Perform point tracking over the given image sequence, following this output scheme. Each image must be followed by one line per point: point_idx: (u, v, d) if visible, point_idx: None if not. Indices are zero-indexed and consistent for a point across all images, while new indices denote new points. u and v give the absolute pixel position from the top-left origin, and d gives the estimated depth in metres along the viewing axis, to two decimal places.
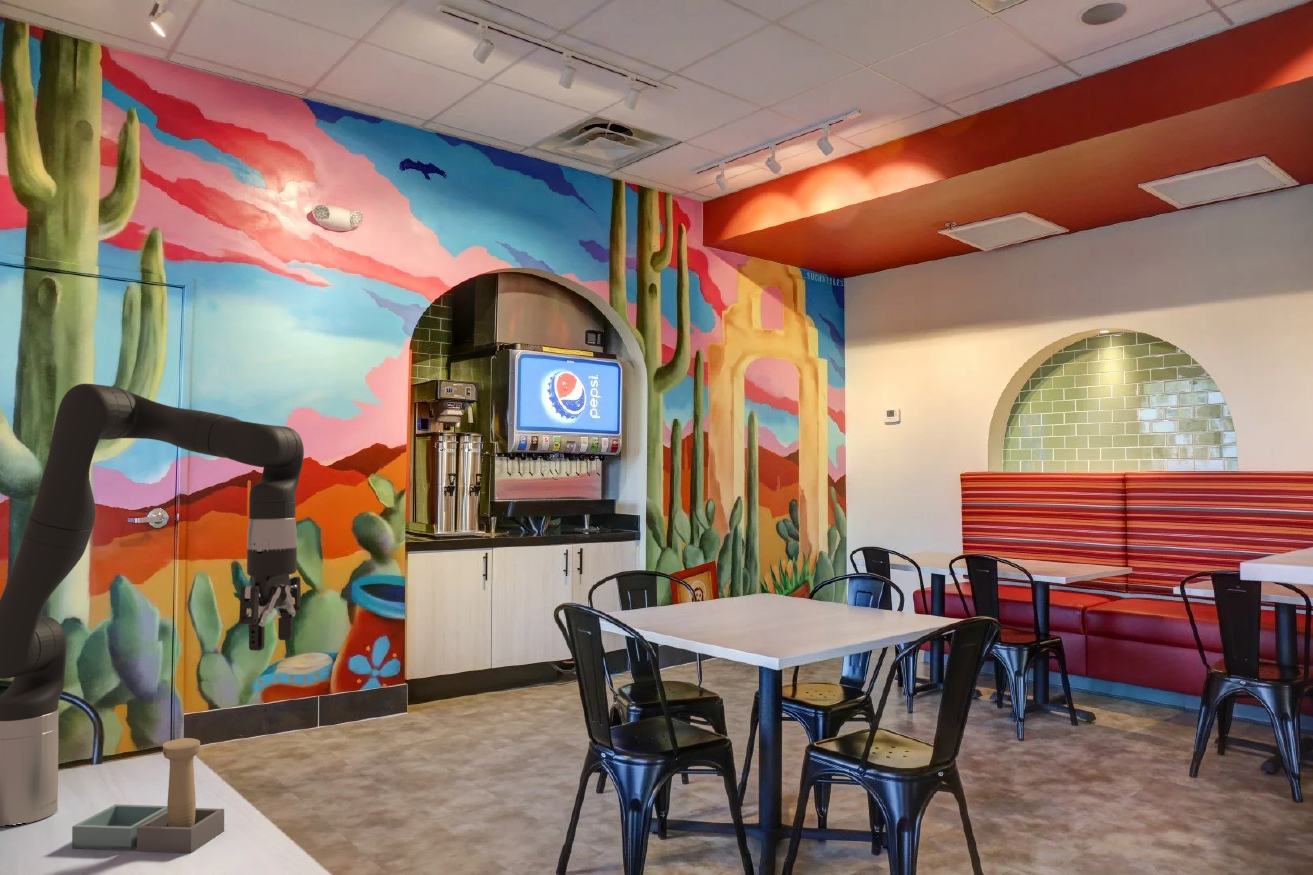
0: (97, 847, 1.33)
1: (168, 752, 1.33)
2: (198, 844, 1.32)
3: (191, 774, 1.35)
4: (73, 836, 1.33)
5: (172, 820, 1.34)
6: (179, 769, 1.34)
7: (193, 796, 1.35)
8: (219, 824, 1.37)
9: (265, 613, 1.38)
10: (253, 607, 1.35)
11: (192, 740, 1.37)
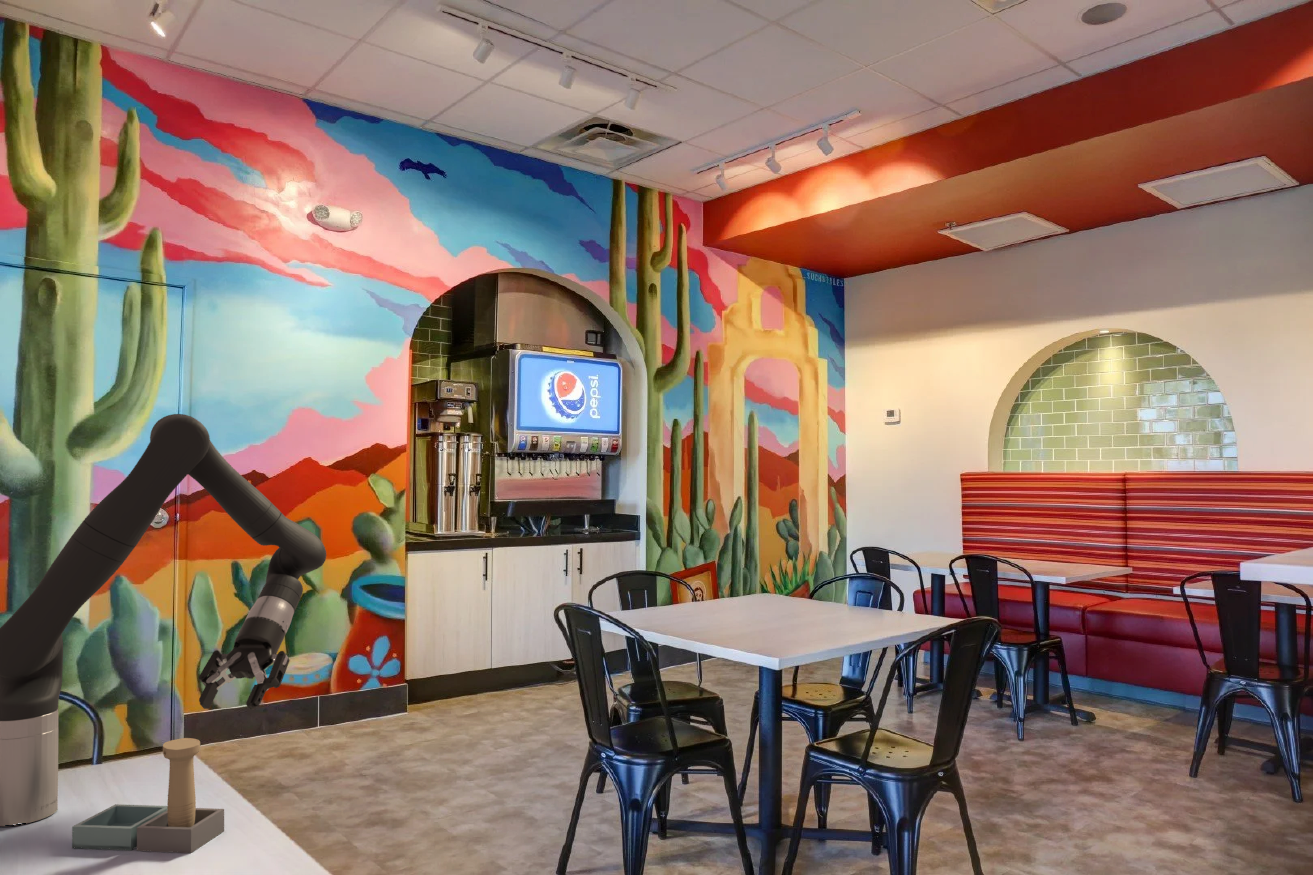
0: (97, 847, 1.33)
1: (168, 752, 1.33)
2: (198, 844, 1.32)
3: (191, 774, 1.35)
4: (73, 836, 1.33)
5: (172, 820, 1.34)
6: (179, 769, 1.34)
7: (193, 796, 1.35)
8: (219, 824, 1.37)
9: None
10: None
11: (192, 740, 1.37)
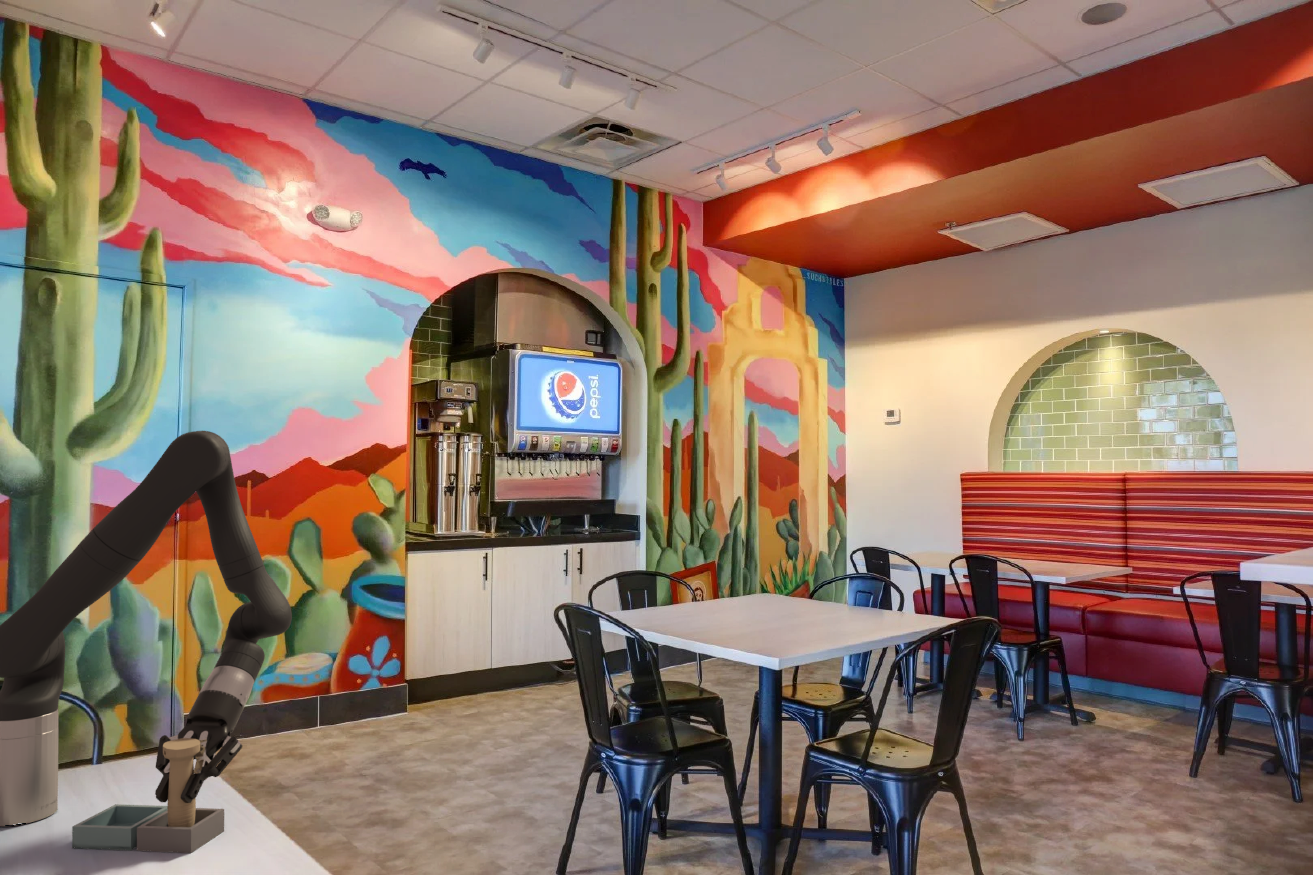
0: (97, 847, 1.33)
1: (168, 752, 1.33)
2: (198, 844, 1.32)
3: (191, 774, 1.35)
4: (73, 836, 1.33)
5: (172, 820, 1.34)
6: (179, 769, 1.34)
7: None
8: (219, 824, 1.37)
9: None
10: (228, 763, 1.38)
11: (192, 740, 1.37)
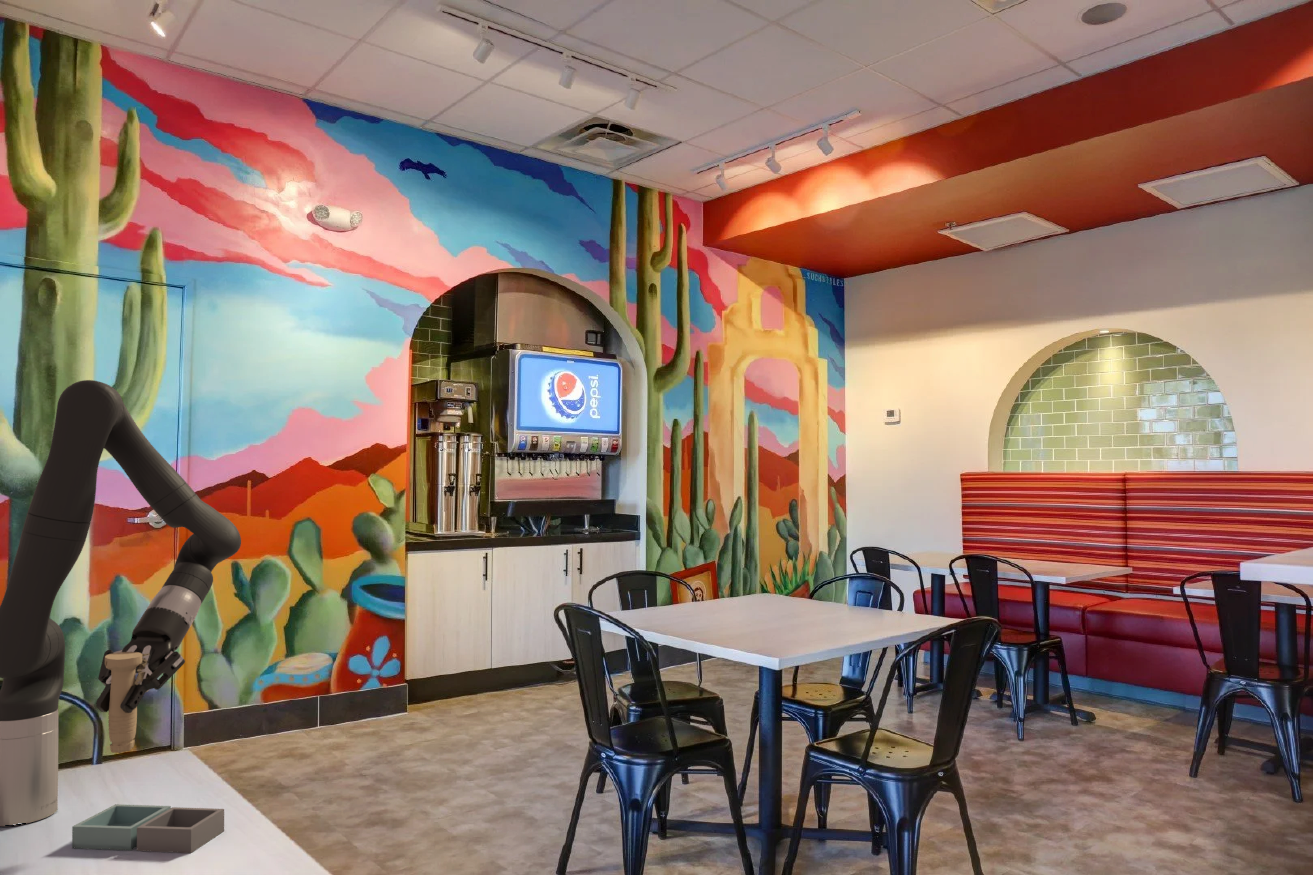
0: (97, 847, 1.33)
1: (109, 662, 1.35)
2: (198, 844, 1.32)
3: (132, 685, 1.38)
4: (73, 836, 1.33)
5: (112, 729, 1.36)
6: (120, 679, 1.36)
7: None
8: (219, 824, 1.37)
9: None
10: (170, 677, 1.41)
11: (135, 653, 1.40)
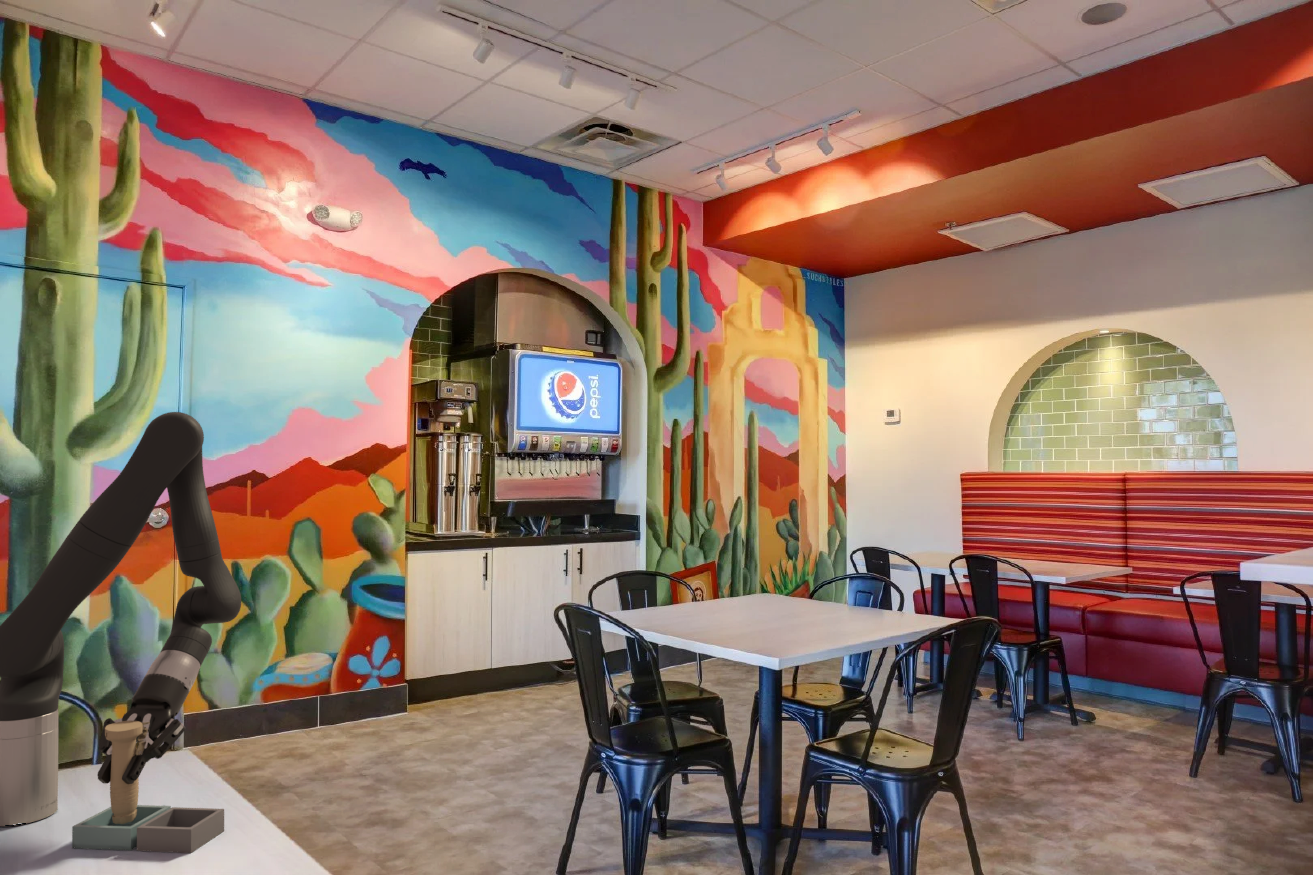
0: (97, 847, 1.33)
1: (109, 734, 1.35)
2: (198, 844, 1.32)
3: None
4: (73, 836, 1.33)
5: (114, 801, 1.36)
6: (120, 750, 1.36)
7: None
8: (219, 824, 1.37)
9: None
10: (171, 745, 1.40)
11: (135, 722, 1.39)
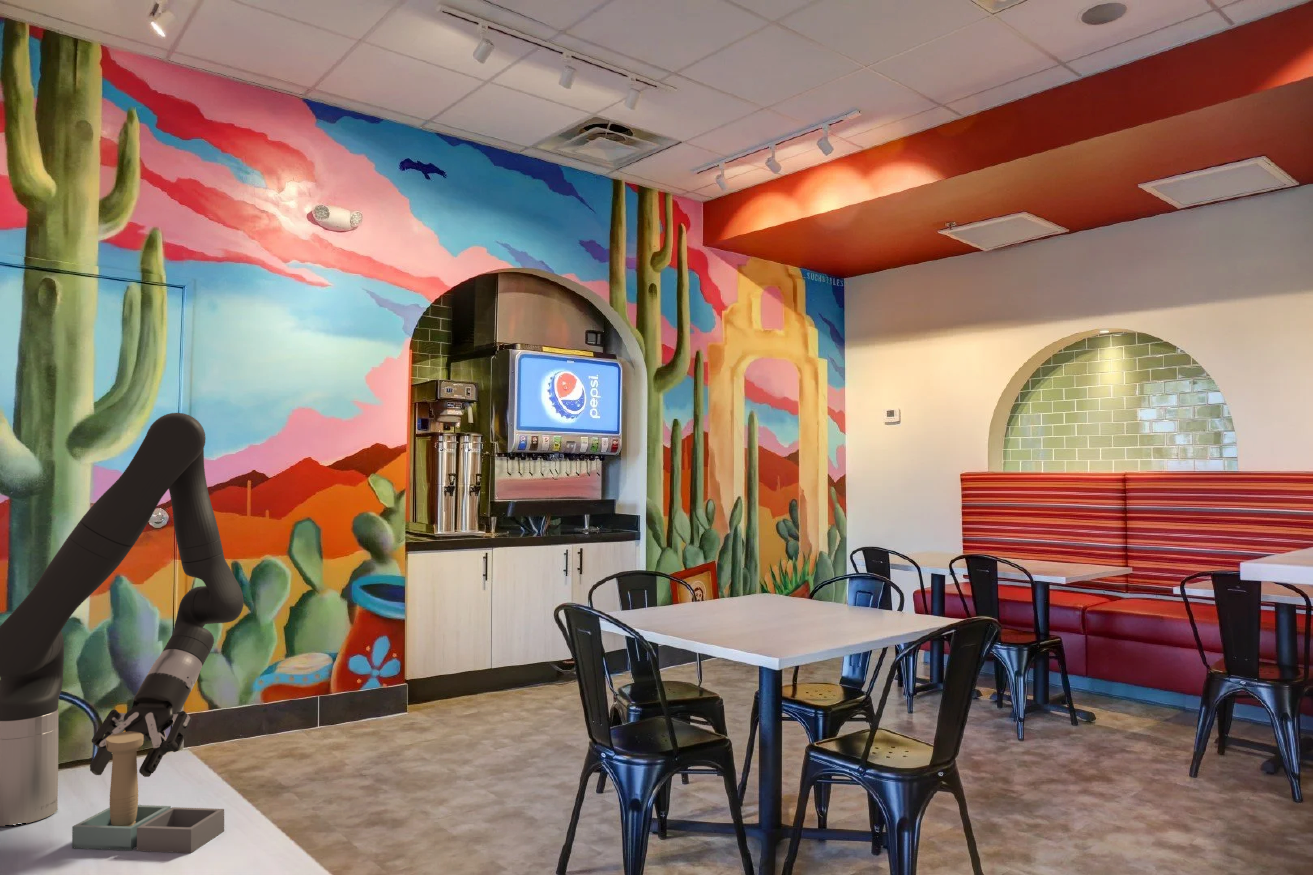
0: (97, 847, 1.33)
1: (110, 746, 1.35)
2: (198, 844, 1.32)
3: (134, 767, 1.37)
4: (73, 836, 1.33)
5: (113, 812, 1.36)
6: (121, 762, 1.36)
7: (135, 789, 1.37)
8: (219, 824, 1.37)
9: None
10: (184, 736, 1.42)
11: (136, 734, 1.39)
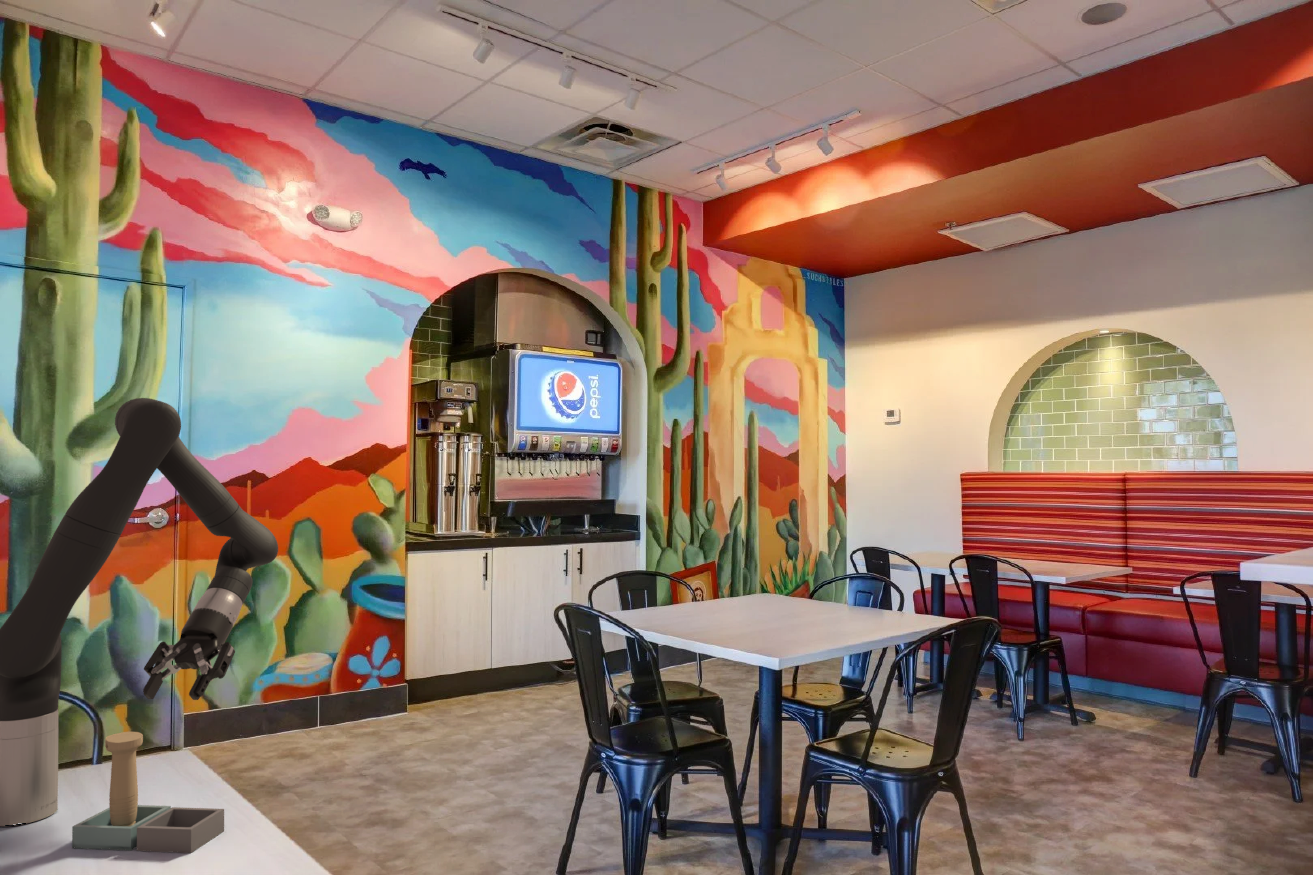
0: (97, 847, 1.33)
1: (110, 745, 1.35)
2: (198, 844, 1.32)
3: (133, 767, 1.37)
4: (73, 836, 1.33)
5: (113, 812, 1.36)
6: (120, 761, 1.36)
7: (135, 789, 1.37)
8: (219, 824, 1.37)
9: None
10: (228, 665, 1.54)
11: (135, 733, 1.40)
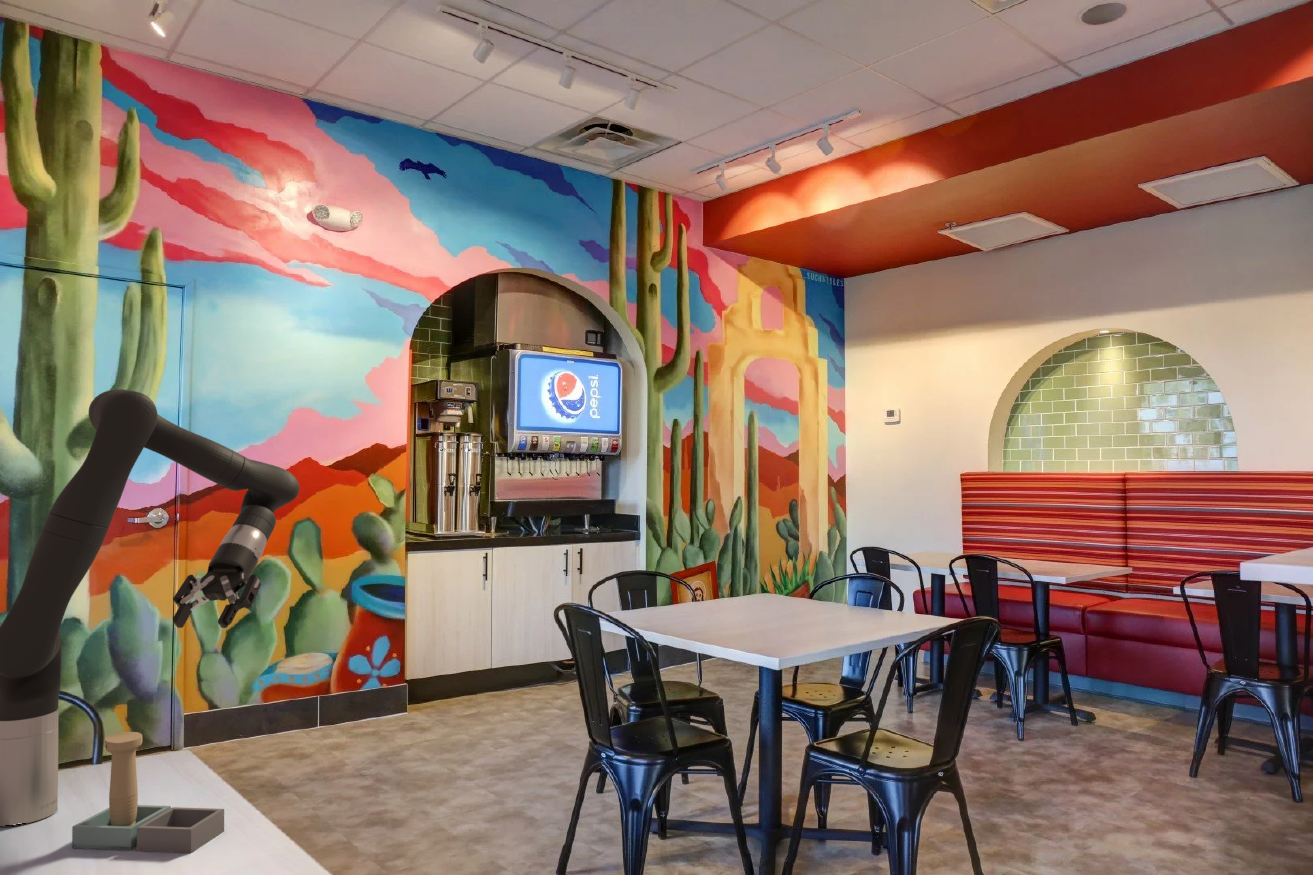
0: (97, 847, 1.33)
1: (109, 746, 1.35)
2: (198, 844, 1.32)
3: (133, 767, 1.37)
4: (73, 836, 1.33)
5: (113, 812, 1.36)
6: (120, 762, 1.36)
7: (135, 789, 1.37)
8: (219, 824, 1.37)
9: None
10: (255, 596, 1.58)
11: (135, 734, 1.39)
